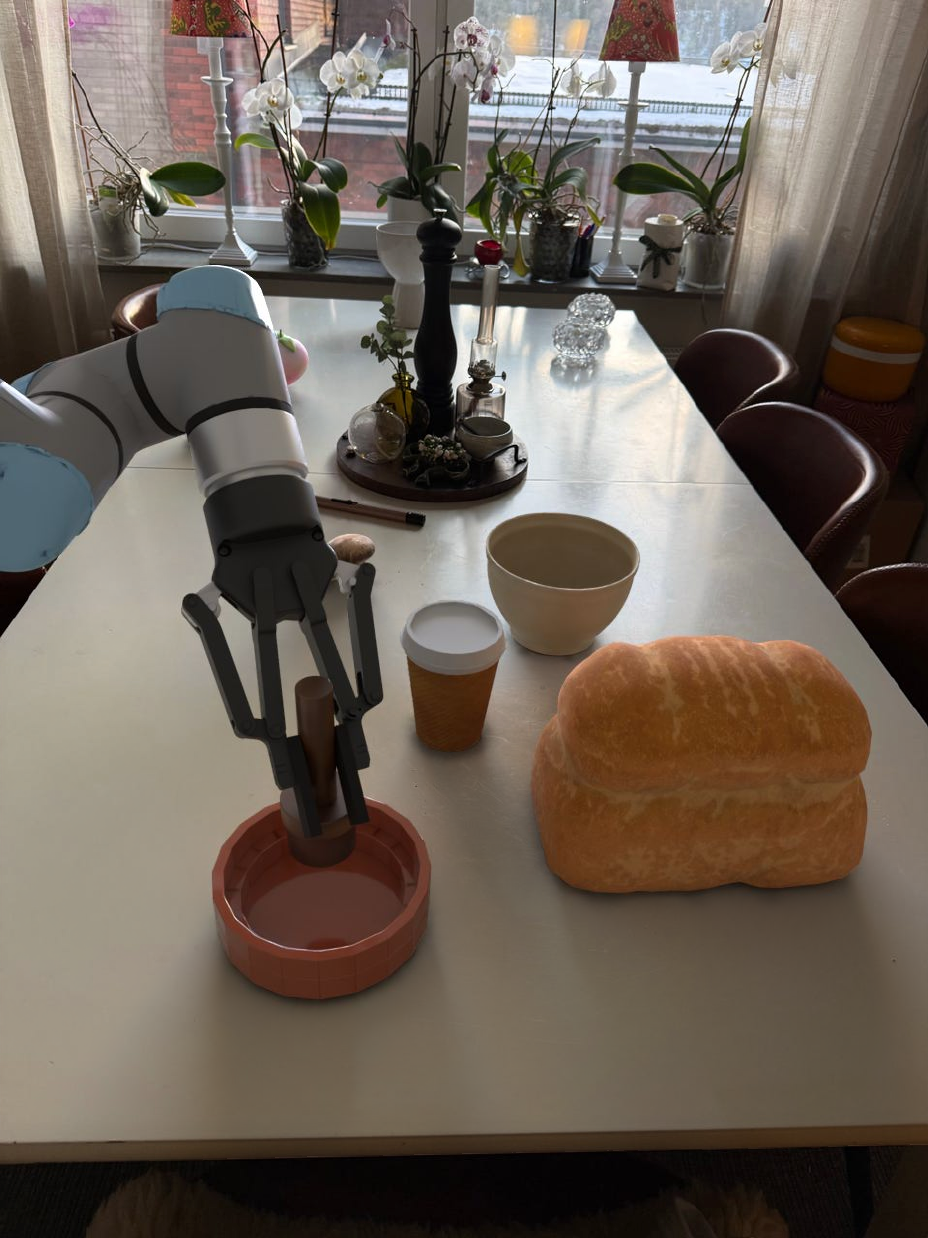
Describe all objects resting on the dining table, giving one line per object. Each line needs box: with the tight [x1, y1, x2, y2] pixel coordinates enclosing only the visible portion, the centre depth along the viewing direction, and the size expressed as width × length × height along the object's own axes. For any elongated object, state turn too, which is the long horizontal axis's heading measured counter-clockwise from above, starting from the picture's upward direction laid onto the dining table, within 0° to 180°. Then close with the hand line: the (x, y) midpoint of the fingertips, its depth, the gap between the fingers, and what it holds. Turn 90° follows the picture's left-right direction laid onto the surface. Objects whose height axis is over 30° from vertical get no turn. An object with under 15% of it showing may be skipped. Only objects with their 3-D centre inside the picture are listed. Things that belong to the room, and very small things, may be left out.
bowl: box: [211, 796, 432, 1000], centre depth 69 cm, size 16×16×5 cm
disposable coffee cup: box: [399, 599, 508, 753], centre depth 86 cm, size 10×10×12 cm
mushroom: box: [327, 533, 376, 582], centre depth 110 cm, size 8×8×6 cm
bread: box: [530, 635, 873, 894], centre depth 75 cm, size 16×26×17 cm, turn 95°
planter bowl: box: [485, 511, 641, 657], centre depth 101 cm, size 16×16×11 cm
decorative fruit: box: [275, 328, 310, 386], centre depth 161 cm, size 9×8×10 cm
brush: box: [279, 675, 356, 868], centre depth 63 cm, size 5×5×14 cm
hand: (336, 829), depth 61 cm, fingers closed on brush, 2 cm apart
